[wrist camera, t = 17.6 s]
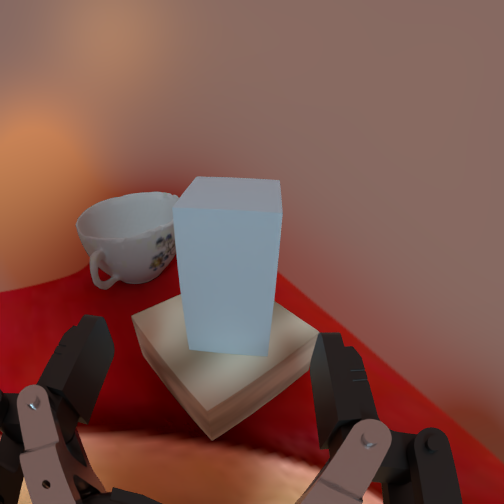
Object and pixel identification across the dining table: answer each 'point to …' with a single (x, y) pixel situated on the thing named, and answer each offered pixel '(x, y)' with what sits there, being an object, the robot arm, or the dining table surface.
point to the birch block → (222, 365)
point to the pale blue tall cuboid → (228, 262)
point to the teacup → (129, 237)
